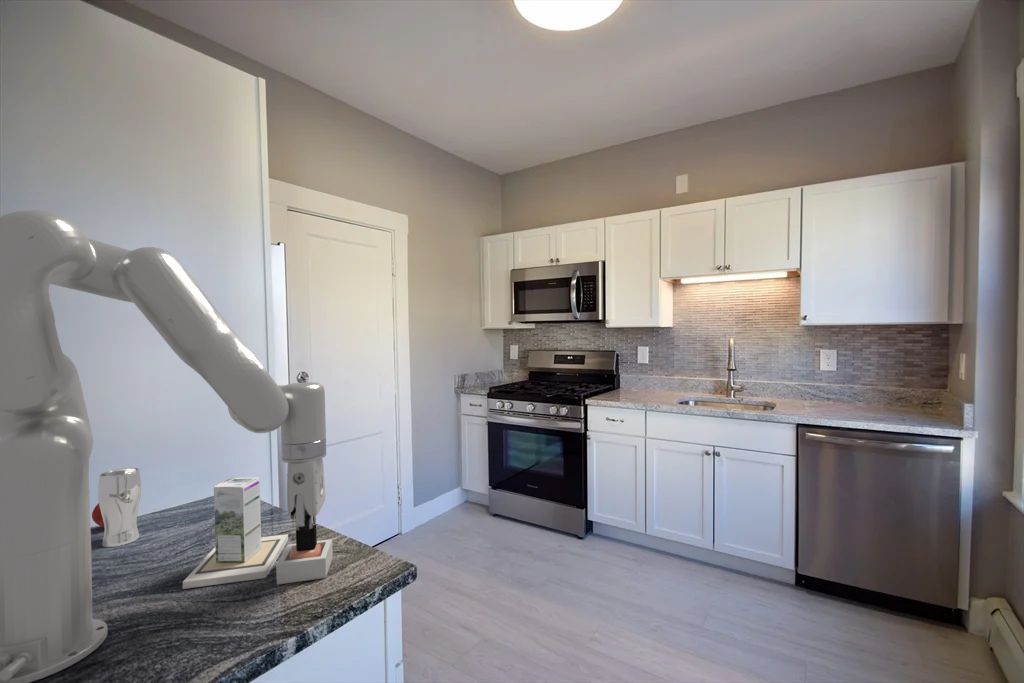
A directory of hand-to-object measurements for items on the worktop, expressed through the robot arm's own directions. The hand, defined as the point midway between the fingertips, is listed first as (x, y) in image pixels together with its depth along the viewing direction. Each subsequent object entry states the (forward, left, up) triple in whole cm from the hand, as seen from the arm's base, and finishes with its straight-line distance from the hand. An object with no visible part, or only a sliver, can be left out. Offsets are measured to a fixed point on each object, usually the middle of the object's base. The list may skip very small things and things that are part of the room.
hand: (306, 548), depth 82 cm
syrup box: (+6, +13, -3) cm, 15 cm away
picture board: (+7, +13, -4) cm, 15 cm away
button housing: (0, 0, -4) cm, 4 cm away
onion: (+34, +49, -4) cm, 60 cm away
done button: (0, 0, -2) cm, 2 cm away
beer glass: (+25, +42, -4) cm, 49 cm away
